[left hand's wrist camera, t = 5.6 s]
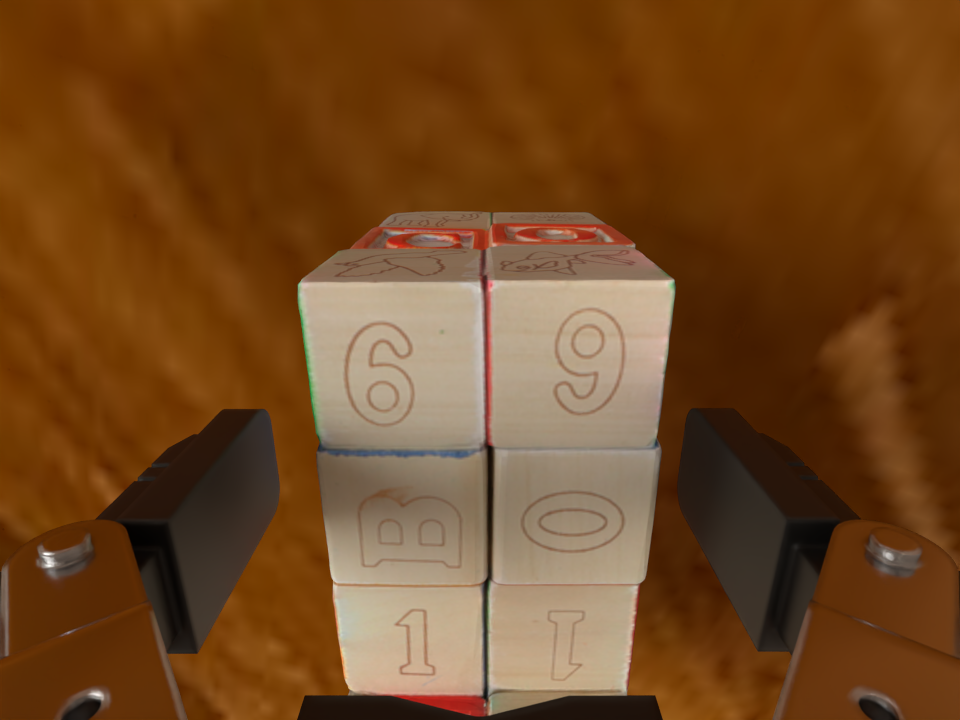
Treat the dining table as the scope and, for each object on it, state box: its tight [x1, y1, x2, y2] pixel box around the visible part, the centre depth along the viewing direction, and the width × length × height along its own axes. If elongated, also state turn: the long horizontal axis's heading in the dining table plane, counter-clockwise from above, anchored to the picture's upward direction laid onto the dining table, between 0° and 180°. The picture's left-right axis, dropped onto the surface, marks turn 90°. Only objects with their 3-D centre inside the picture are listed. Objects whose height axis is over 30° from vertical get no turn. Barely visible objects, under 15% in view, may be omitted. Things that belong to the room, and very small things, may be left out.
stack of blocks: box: [298, 211, 676, 716], centre depth 16 cm, size 21×6×12 cm, turn 0°
